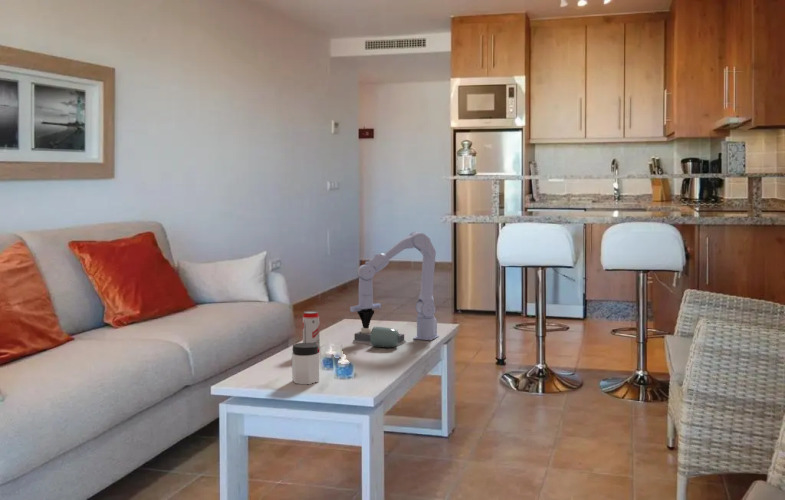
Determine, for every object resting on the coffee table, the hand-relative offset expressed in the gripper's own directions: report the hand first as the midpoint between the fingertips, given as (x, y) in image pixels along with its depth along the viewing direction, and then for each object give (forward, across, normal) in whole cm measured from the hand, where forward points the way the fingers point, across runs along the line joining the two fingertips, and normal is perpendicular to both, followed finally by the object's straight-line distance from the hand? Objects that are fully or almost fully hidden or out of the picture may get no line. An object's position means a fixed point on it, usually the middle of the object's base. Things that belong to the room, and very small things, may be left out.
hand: (365, 327), depth 319 cm
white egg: (+3, 0, 0) cm, 3 cm away
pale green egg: (+3, -5, +11) cm, 12 cm away
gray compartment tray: (+5, -3, +6) cm, 8 cm away
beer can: (+6, +30, +5) cm, 31 cm away
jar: (+6, +55, +38) cm, 67 cm away
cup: (+2, -1, +19) cm, 19 cm away
